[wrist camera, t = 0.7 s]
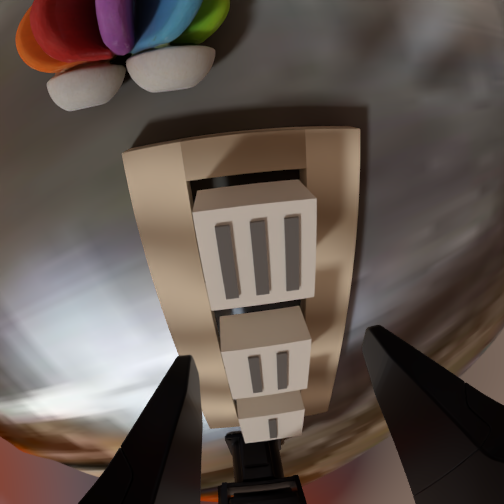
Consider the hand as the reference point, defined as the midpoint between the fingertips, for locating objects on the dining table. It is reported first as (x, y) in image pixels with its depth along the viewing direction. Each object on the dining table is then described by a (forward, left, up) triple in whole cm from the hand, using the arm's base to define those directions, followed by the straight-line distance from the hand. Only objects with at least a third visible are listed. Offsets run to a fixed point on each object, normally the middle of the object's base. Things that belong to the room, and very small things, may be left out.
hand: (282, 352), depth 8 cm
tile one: (-16, 0, -8) cm, 18 cm away
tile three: (0, 0, -8) cm, 8 cm away
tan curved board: (-8, 0, -10) cm, 13 cm away
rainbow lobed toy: (+12, +5, -10) cm, 17 cm away
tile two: (-8, 0, -8) cm, 12 cm away
